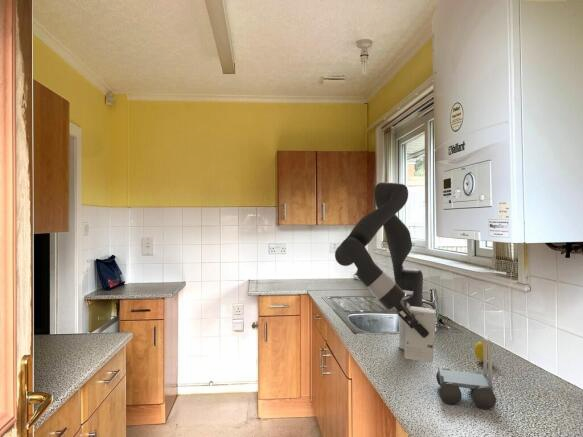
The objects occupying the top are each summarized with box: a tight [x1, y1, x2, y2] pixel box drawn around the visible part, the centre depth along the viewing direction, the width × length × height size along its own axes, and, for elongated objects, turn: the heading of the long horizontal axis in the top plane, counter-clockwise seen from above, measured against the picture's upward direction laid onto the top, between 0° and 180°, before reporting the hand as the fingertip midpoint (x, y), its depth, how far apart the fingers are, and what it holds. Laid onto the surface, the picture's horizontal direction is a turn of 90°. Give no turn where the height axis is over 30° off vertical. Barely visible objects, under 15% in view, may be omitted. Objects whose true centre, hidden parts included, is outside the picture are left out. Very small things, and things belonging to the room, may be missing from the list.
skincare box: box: [403, 306, 437, 364], centre depth 112 cm, size 8×6×15 cm
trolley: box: [435, 335, 497, 410], centre depth 114 cm, size 12×15×18 cm
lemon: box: [474, 340, 488, 363], centre depth 141 cm, size 6×6×8 cm
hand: (426, 332), depth 112 cm, fingers closed on skincare box, 6 cm apart
